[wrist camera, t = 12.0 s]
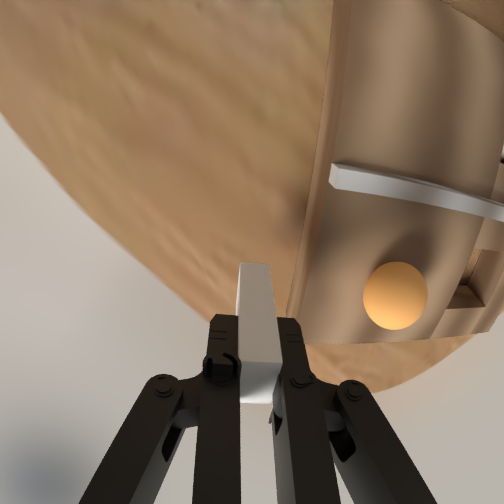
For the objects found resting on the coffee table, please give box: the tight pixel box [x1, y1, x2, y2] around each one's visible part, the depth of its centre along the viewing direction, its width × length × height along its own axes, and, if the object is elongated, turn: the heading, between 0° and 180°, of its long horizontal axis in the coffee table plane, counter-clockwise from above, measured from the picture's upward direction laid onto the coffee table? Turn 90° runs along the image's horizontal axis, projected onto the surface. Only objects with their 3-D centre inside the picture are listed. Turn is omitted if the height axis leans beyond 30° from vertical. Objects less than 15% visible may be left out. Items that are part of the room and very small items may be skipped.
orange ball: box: [363, 262, 428, 330], centre depth 16 cm, size 4×4×4 cm
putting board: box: [286, 0, 504, 344], centre depth 16 cm, size 21×24×5 cm
